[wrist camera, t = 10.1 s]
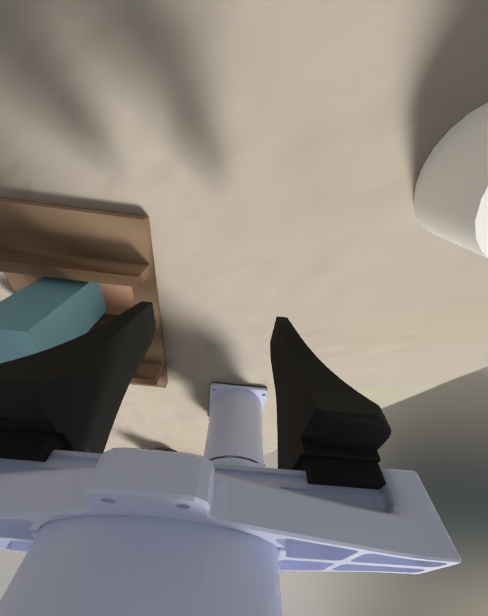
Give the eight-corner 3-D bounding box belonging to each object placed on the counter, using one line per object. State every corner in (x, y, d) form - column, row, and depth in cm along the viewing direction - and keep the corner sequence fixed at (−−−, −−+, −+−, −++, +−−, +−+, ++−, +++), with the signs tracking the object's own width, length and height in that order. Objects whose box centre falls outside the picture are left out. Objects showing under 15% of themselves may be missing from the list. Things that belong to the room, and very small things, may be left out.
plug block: (107, 310, 23) (49, 372, 17) (67, 306, 23) (-7, 367, 16) (97, 275, 21) (26, 332, 14) (53, 270, 21) (-39, 324, 14)
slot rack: (167, 381, 31) (159, 404, 29) (65, 371, 31) (45, 393, 28) (148, 216, 19) (130, 228, 16) (-25, 194, 18) (-76, 202, 16)
